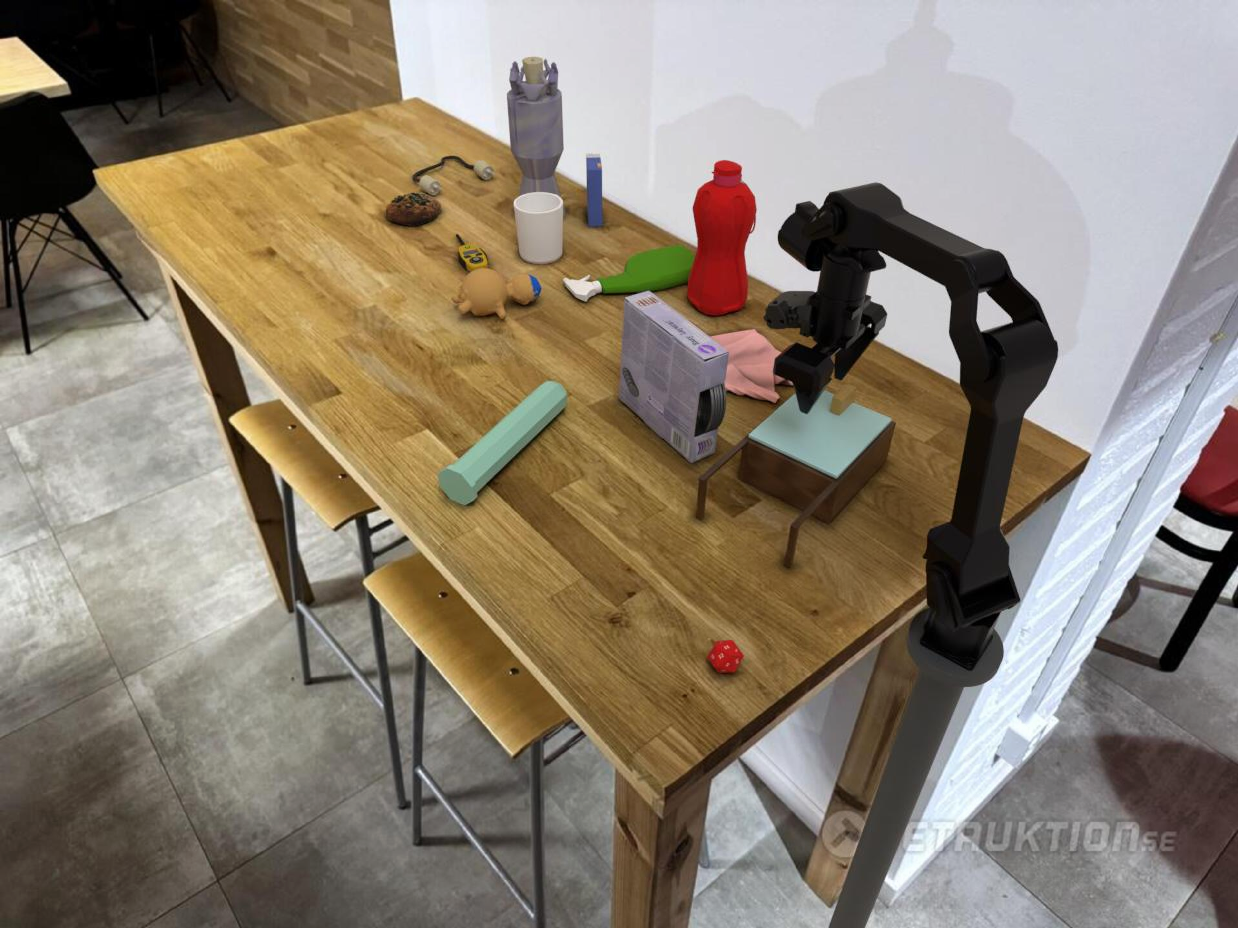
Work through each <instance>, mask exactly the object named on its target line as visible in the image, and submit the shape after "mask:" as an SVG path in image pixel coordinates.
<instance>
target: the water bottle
mask: <svg viewBox="0 0 1238 928" xmlns="http://www.w3.org/2000/svg"><path fill="white" fill-rule="evenodd" d="M742 172H743V167H742V165H741V164H739V163H738V162H736V161H732V160H728V159H722V160H718V161H716V162H715V163H714V165H713V171H711V172H710V173H711V174H713V177H712V179H711V180H709V181H706V182H705V183H704V184H702V185H701V186H700V187H699V188H697V191H696V193H695V198H694V201H693V205H692V214H693V222H694V227H695V232H696V238H697V242H696V243H697V245H696V253H695V254H694V255H695V259H694V262H693V265H692V268H691V272H690V275H689V279H688V283H687V289H686V294H687V299H688V300H689V302H690V304H691V305H693V306H695V307H696V309H697V310H698V311H699V312H701V313H703V314H704V315H706V316H707V315H708V316H714V317H717V316H723V315H725V314H728V313H732V312H737V311H739V310H742V308H744V307H745V305H746V304H747V300H748V293H749V292H748V291H749V279H748V271H747V263H746V261H747V260H746V247H747V242H748V239H749V237H750V235H751V234H752V233H753V232H754V231H755V228H756V223H757V211H758V209H757V202H756V196H755V195H754V193H753V191H752V190H751V188H750V187H749V186H748V184H747V183H746V182H744V181H743V180H742V177H743V174H742Z"/></svg>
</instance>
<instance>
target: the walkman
mask: <svg viewBox="0 0 1238 928" xmlns="http://www.w3.org/2000/svg"><path fill="white" fill-rule="evenodd" d="M585 155H586V156H585V163H586V164H585V166H586V170H585V171H586V172H585V173H586V215H587V223H588V224H587V225H588V228H589V227H591V228H592V227H593V228H594V227H603V167H602V159H601V153H586V154H585Z"/></svg>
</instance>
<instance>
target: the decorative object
mask: <svg viewBox="0 0 1238 928" xmlns="http://www.w3.org/2000/svg"><path fill="white" fill-rule="evenodd" d="M543 59H544V60H543ZM521 63H522V66H521V68H519V63H518V62H517V61H516V60H515V61H513V62H512V63H511V64H512V65H511V68H510V70H509V71H510V72H509V78H508V81H509V84H510V89H509V91H508V92H507V93H506V102H507V116H508V130H509V131H508V133H509V145H510V152H511V155H512V156H513V158H514V160H515V162H516V164H517V166H518V168H519V170H520V171H521V173H522V175H521V176H522V177H521V181H520V187H519V193H518V197H519V196H521V195H524V194H527V193H533V192H546V193H551V194H556V195H558V196H559V197H560V198H561V199H562V200H563V198H562V195H561V192H560V187H559V184H558V181H557V177H556V175H555V172H556V169H557V168H558V165H559V162H560V160H561V157H562V154H563V152H564V149H565V148H564V147H565V146H564V119H563V94H562V93H563V92H562V91H561V90H560V89H559V87H558V86H559V69H558V67H557V63H556V62H553V61H552V62H551V63H550V65H549V63H548V60H547V58H543V57H540V56H527V57H524V58H522V59H521ZM524 79H525V80H524ZM566 214H567V213H566V209H565V205H564V204H563V217H564V216H565V215H566Z"/></svg>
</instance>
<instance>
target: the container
mask: <svg viewBox="0 0 1238 928" xmlns="http://www.w3.org/2000/svg"><path fill="white" fill-rule="evenodd" d="M567 402H568V392H567V390H566V389H565V388H564V386H563V385H562V384H561V382H556V381H553V380H547V381H544V382H543V383H541V384H540V385H538V386H537V387H536V388H535V389H534V390H533V391H532V392H531V393H530V394H528V396H526V397H525V398H524V399H523V400H522V401H521V402H520V403H518V404H517V405H516V406H515V407H514V408H513V409H512V410H511V411H510V412H508V413H507V414H506V415H505V416H504V417H503V418H502V419H501V420H500V421H498V422H497V424H496V425H494V426H493V427H492V428H491V429H490V430H489V431H487V433H486V434H484V435H483V436H482V437H481V438H480V439H479V440H478V441H477V442H476V443H474V444H473V445H472V446H471V447H470V448H469V449H468V450H467V451H466V452H465V453H464V454H462V455H461V456H460V457H459V458H458V459H457V460H456V461H455V462H454V463H452V464H449V465H447V466H446V467H444V468H442V469H440V471H438V472H437V478H438V479H437V480H438V484H439V488H440V489H441V491H443V492H444V494H445V495H446V496H447V497H448V498H449V500H451V501H453V502H455V503H457V504H460V505H462V506H466V505H468V504H470V503H472V502H474V501H475V500H476V499H477V498H478V492H479V491H480V490H481V489H482V488H483V487H484V486H485V485H486V484H487V483H488V482H489V481H490V480H491V479H493V478H494V477H495V475H497V474H498V473H499V472H500V471H501V470H502V469H503V468H504V467H505V466H506V465H507V464H508V463H509V462H510V461H511V460H512V459H513V458H514V457H516V455H517V454H518V453H520V451H521V450H522V449H523V448H525V447H526V445H528V444H529V443H530V442H531V441H532V440H533V439H534V438H535V437H536V436H537V435H538V434H539V433H540V432H541V431H543V429H544V428H546V426H547V425H548V424H549V423H550V422H551V421H553V419H554V418H556V417H557V415H559V414H560V412H561V411H563V410H564V409H565V408H566V407H567Z"/></svg>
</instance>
